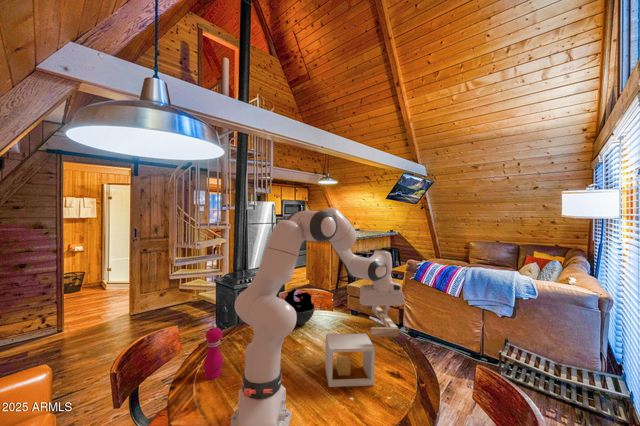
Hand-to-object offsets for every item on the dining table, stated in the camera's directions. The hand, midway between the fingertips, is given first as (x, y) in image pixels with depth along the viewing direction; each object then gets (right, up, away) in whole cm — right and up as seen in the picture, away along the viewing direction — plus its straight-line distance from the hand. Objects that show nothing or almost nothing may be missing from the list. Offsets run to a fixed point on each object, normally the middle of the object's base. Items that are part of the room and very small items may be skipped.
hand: (381, 314), depth 124 cm
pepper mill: (-71, -17, -18) cm, 75 cm away
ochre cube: (-19, -19, -14) cm, 30 cm away
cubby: (-17, -18, -17) cm, 30 cm away
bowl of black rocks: (-42, -18, +33) cm, 57 cm away
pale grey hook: (-4, -1, -1) cm, 4 cm away
